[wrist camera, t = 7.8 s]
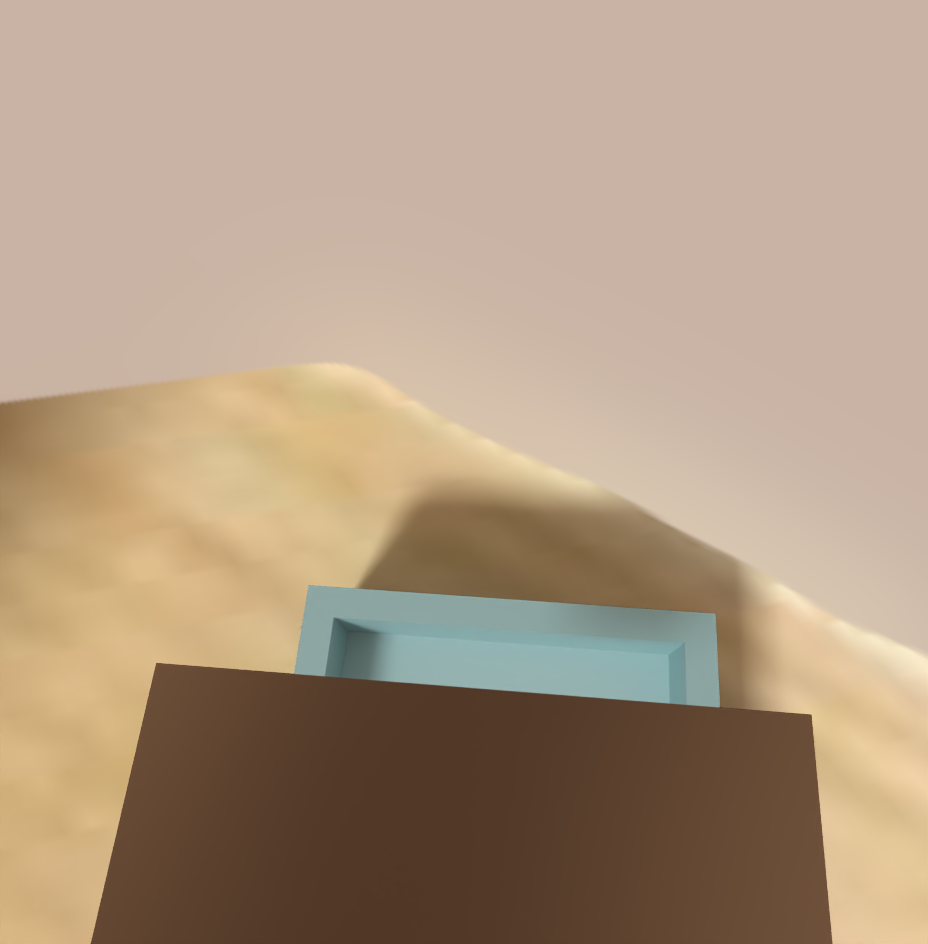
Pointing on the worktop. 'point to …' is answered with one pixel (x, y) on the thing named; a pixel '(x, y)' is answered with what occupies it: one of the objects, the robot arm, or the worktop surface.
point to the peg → (460, 818)
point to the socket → (511, 645)
